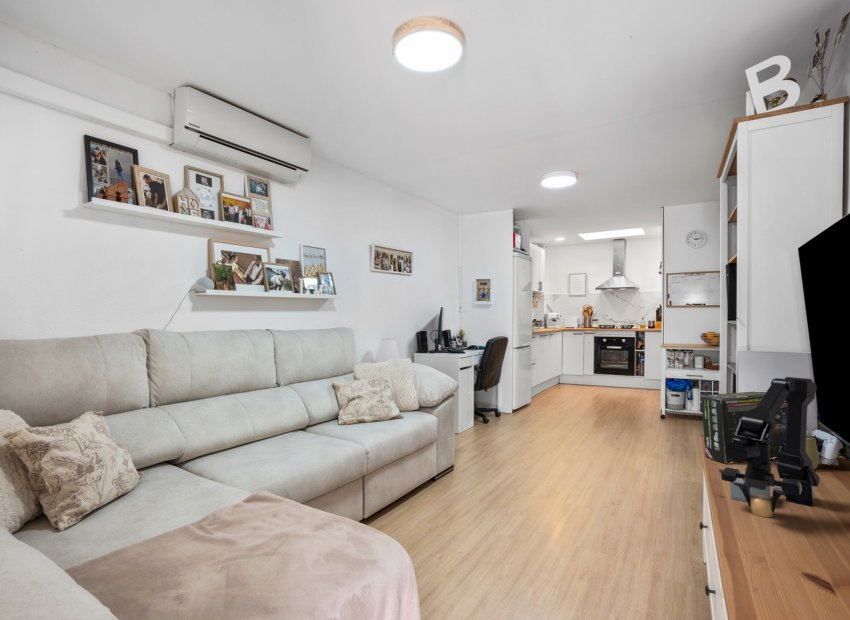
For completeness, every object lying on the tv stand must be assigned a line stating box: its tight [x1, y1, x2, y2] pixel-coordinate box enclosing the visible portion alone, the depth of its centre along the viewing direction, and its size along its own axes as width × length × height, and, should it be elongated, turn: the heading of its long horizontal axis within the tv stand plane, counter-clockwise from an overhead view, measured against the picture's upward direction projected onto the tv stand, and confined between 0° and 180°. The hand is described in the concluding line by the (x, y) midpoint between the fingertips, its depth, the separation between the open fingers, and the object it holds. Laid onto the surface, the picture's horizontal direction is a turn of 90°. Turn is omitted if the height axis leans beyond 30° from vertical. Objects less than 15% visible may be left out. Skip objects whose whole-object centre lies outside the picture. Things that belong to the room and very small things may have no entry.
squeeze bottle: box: [806, 427, 820, 470], centre depth 165 cm, size 8×8×18 cm
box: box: [729, 482, 772, 503], centre depth 139 cm, size 9×9×6 cm
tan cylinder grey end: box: [750, 495, 774, 518], centre depth 128 cm, size 5×5×5 cm
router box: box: [700, 391, 788, 464], centre depth 180 cm, size 36×11×27 cm, turn 99°
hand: (761, 509), depth 128 cm, fingers closed on tan cylinder grey end, 5 cm apart
